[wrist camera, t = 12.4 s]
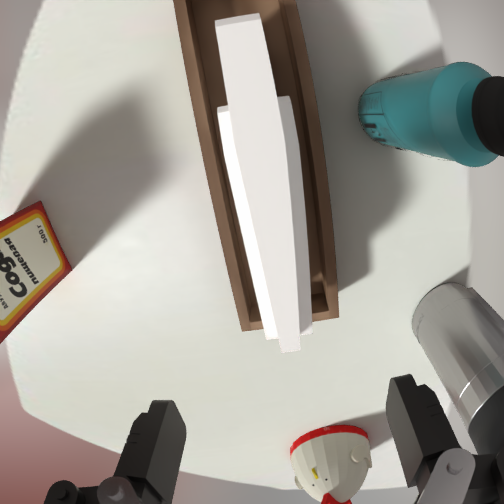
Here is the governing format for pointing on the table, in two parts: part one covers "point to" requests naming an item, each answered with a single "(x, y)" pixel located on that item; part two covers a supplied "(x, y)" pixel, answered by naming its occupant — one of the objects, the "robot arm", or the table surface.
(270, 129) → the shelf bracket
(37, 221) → the baking soda box
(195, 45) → the trough
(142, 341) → the table surface
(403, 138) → the beverage bottle
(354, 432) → the kitchen timer
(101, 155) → the table surface
